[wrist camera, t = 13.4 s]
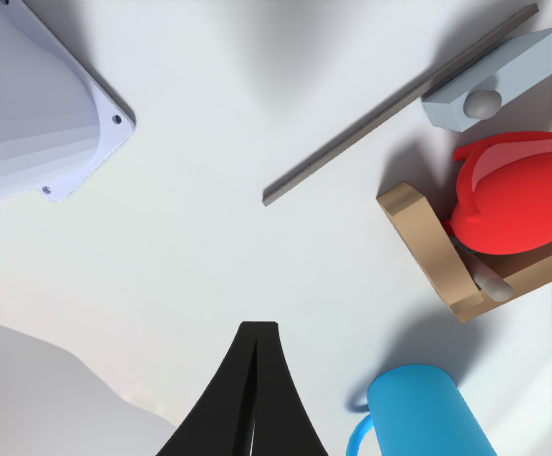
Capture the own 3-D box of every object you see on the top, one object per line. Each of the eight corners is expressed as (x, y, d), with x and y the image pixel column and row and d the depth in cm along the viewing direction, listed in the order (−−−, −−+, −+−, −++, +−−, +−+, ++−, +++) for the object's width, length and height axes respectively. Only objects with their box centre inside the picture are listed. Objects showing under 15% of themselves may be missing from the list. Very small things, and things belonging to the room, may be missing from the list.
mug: (430, 350, 25) (493, 459, 18) (467, 398, 28) (535, 510, 20) (317, 403, 28) (329, 513, 21) (360, 441, 31) (384, 550, 24)
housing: (262, 199, 19) (257, 228, 15) (592, -42, 13) (725, -99, 9) (370, 329, 24) (389, 378, 20) (645, 191, 18) (748, 220, 14)
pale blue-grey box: (420, 101, 16) (458, 104, 13) (510, 37, 15) (581, 21, 11) (432, 125, 17) (472, 134, 13) (520, 65, 15) (590, 58, 12)
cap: (497, 96, 13) (464, 216, 13) (656, 125, 12) (628, 261, 11) (435, 165, 21) (412, 242, 20) (527, 187, 20) (506, 271, 19)
